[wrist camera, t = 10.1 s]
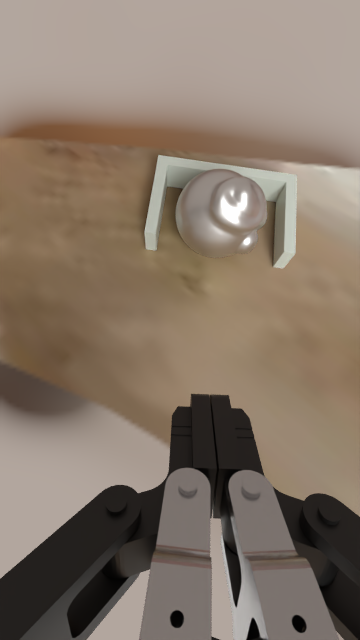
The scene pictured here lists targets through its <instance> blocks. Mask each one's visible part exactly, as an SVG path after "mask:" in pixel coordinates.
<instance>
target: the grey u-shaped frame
mask: <svg viewBox="0 0 360 640" xmlns="http://www.w3.org/2000/svg"><path fill="white" fill-rule="evenodd" d="M212 169H228V170H232V171H235V172H237V173H239V174H241V175H242V176H244V177H248V178H250V179H252V180H253V181H255V182H256V183H257V184H258V185H259V186H260V187H261V189H262V190H263V192H264V195H265V198H266V201H273V202H276V211H275V235H274V258H273V267H277V268H284V267H285V266H286V265H287V263H288V262H289V261H290V260H291V258H292V257H293V256H294V255H295V247H296V197H297V175H294V174H287V173H280V172H273V171H266V170H259V169H252V168H246V167H239V166H232V165H225V164H218V163H211V162H204V161H197V160H190V159H183V158H176V157H169V156H162V155H158V161H157V166H156V172H155V177H154V183H153V188H152V193H151V199H150V204H149V210H148V215H147V221H146V226H145V231H144V234H145V244H146V249H148V250H155V251H156V250H157V244H158V238H159V232H160V226H161V220H162V214H163V208H164V202H165V196H166V190H167V186H168V187H175V188H182V189H184V187H185V186H186V185H187V184H188V183H189V181H191V180H192V179H193V178H194V177H195V176H197V175H199V174H200V173H202V172H205V171H208V170H212Z"/></svg>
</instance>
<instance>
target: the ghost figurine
mask: <svg viewBox="0 0 360 640" xmlns="http://www.w3.org/2000/svg"><path fill="white" fill-rule="evenodd" d="M266 220H267V211H266V198H265V195H264V192H263V190H262V189H261V187H260V186H259V185H258V184H257V183H256V182H255V181H253V180H252V179H250V178H248V177H244V176H242V175H241V174H239V173H237V172H235V171H232V170H228V169H212V170H208V171H205V172H202V173H200V174H199V175H197V176H195V177H194V178H193V179H192V180H191V181H189V183H188V184H187V185H186V186H185V187H184V189H183V190H182V192H181V194H180V196H179V199H178V202H177V206H176V224H177V228H178V231H179V233H180V236H181V237H182V239H183V241H184V242H185V243H186V244H187V245H188V246H189V247H190V248H191V249H192V250H193V251H195V252H196V253H198V254H200V255H203V256H206V257H211V258H223V257H228V256H231V255H233V254H247V253H249V252H250V251H252V250H253V248H254V247H255V245H256V244H257V241H258V235H257V230H259V229H260V228H262V227H263V226H264V224H265V223H266Z"/></svg>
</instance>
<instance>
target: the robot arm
mask: <svg viewBox="0 0 360 640" xmlns="http://www.w3.org/2000/svg"><path fill="white" fill-rule="evenodd" d="M169 462H170V463H169V472H168V475H167V477H166V479H165V480H164V481H163V482H162V484H160V485H159V486H158V487H156V488H154V489H152V490H149V491H145V492H141V493H137V492H136V491H135V490H134V489H132V488H131V487H128V486H125V485H115V486H111V487H109V488H107V489H105V490H104V491H102V492H101V493H100V494H99V495H98V496H96V497H95V498H94V499H93V500H92V501H91V502H89V503H88V504H87V505H86V506H85V507H84V508H82V509H81V510H80V511H79V512H78V513H77V514H75V515H74V516H73V517H72V518H71V519H69V520H68V521H67V522H66V523H65V524H64V525H63V526H61V527H60V528H59V529H58V530H57V531H55V532H54V533H53V534H52V535H51V536H50V537H48V539H46V540H45V541H44V542H43V543H41V544H40V545H39V546H38V547H37V548H36V549H34V550H33V551H32V552H31V553H30V554H29V555H27V556H26V557H25V558H24V559H23V560H22V561H20V562H19V563H18V564H17V565H16V566H15V567H14V568H12V569H11V570H10V571H9V572H8V573H6V574H5V575H4V576H3V577H2V578H1V579H0V640H86V639H87V638H88V637H89V636H90V635H91V633H92V632H93V631H94V630H95V628H96V627H97V626H98V625H99V624H100V622H101V621H102V620H103V619H104V618H105V616H106V615H107V614H108V613H109V611H110V610H111V609H112V608H113V607H114V605H115V604H116V603H117V602H118V600H119V599H120V598H121V597H122V596H123V595H124V593H125V592H126V591H127V590H128V588H129V587H130V586H131V585H132V584H133V582H134V581H135V580H136V579H137V577H138V576H139V574H140V572H143V571H146V570H149V569H150V574H149V580H148V587H147V593H146V599H145V606H144V612H143V619H142V625H141V631H140V638H139V640H219V639H216V638H214V637H211V595H212V594H211V593H212V592H211V591H212V589H211V585H212V582H211V580H212V579H211V578H212V570H211V569H212V566H211V557H210V518H211V516H212V508H213V518H220V519H221V524H222V535H221V548H222V554H223V560H224V566H225V572H226V578H227V584H228V590H229V596H230V603H231V609H232V618H233V640H339V638H338V635H337V633H336V631H337V632H338V633H339V634H340V635H341V637H342V638H343V639H344V640H360V517H359V516H358V515H357V514H355V513H354V512H353V511H351V510H350V509H349V508H348V507H346V506H345V505H344V504H343V503H341V502H340V501H339V500H337V499H335V498H334V497H331V496H329V495H326V494H320V493H317V494H312V495H310V496H308V497H307V498H306V499H305V501H302V500H300V499H297V498H294V497H291V496H288V495H285V494H283V493H281V492H279V491H278V490H276V489H275V488H274V487H273V486H272V485H271V483H270V482H269V480H268V479H267V478H266V477H265V476H264V473H263V470H262V466H261V462H260V458H259V454H258V450H257V446H256V442H255V440H254V434H253V431H252V427H251V423H250V419H249V417H248V416H247V415H246V413H245V412H244V411H243V410H242V409H236V408H231V405H230V399H229V396H228V395H210V397H209V395H207V394H191V404H190V407H180V406H178V407H177V409H176V410H175V412H174V413H173V415H172V427H171V444H170V461H169Z"/></svg>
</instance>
